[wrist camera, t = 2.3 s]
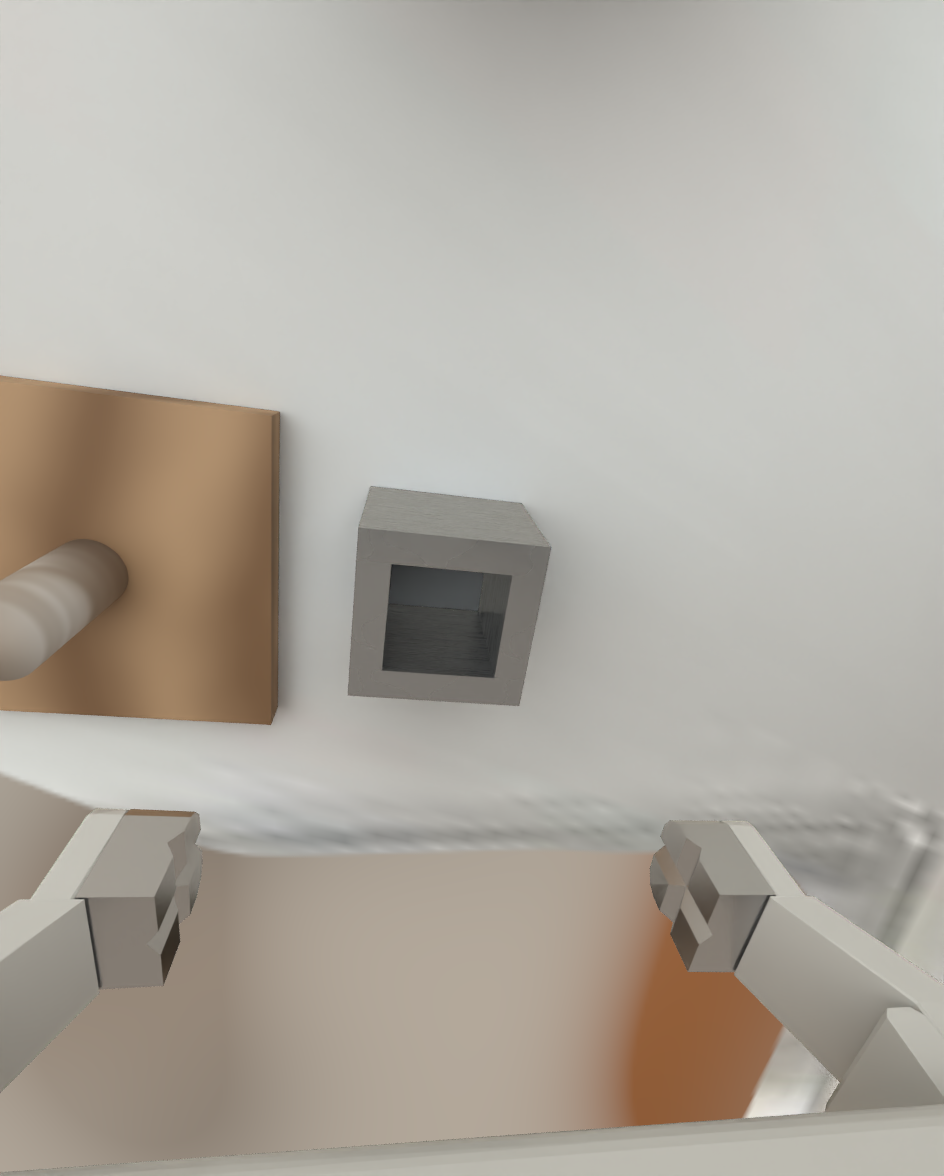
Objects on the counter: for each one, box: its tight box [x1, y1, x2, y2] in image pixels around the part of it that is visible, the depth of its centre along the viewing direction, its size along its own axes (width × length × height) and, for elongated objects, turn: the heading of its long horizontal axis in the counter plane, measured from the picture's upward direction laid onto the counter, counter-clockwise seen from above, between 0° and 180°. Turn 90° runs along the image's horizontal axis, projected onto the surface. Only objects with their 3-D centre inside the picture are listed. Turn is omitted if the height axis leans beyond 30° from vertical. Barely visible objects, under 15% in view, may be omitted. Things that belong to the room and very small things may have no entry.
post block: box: [0, 376, 280, 725], centre depth 18 cm, size 12×12×6 cm
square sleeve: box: [348, 486, 551, 706], centre depth 20 cm, size 6×6×5 cm
